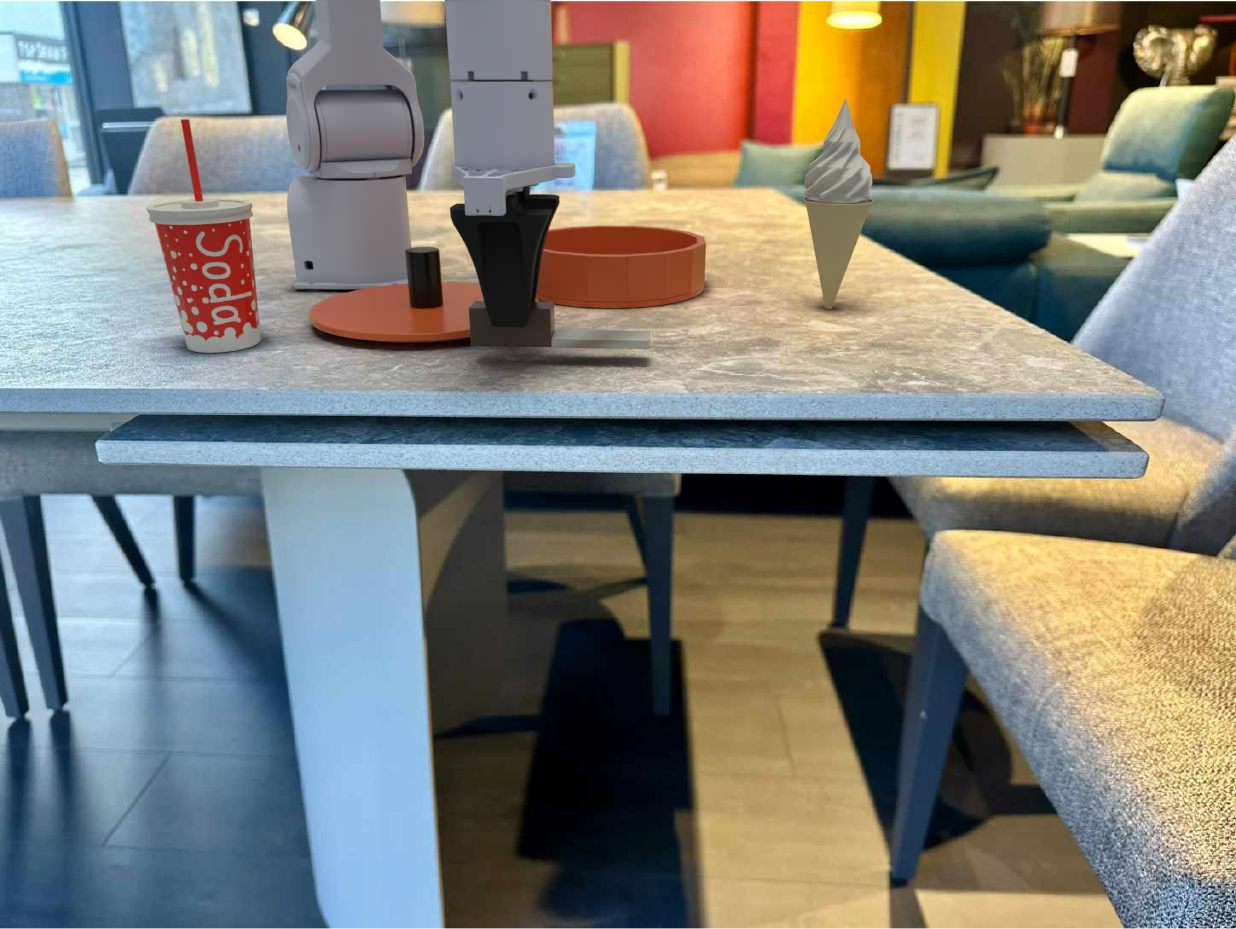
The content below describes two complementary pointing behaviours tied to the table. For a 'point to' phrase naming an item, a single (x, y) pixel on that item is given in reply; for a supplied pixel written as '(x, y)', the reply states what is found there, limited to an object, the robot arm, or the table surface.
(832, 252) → the ice cream cone
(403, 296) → the pan lid
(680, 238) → the pan
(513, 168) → the robot arm
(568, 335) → the knife
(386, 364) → the table surface
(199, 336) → the beverage cup
